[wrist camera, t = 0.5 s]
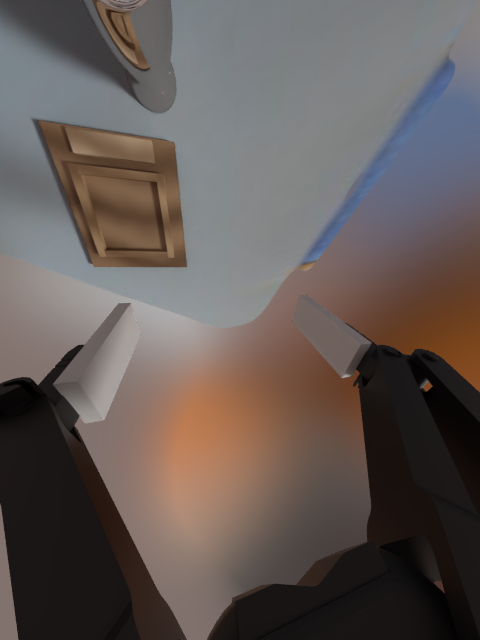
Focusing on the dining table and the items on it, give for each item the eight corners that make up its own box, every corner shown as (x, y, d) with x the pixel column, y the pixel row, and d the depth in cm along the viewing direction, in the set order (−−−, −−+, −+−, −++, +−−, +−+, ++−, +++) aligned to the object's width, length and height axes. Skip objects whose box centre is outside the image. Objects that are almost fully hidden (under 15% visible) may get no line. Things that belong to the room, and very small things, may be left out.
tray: (45, 124, 22) (30, 115, 20) (174, 144, 26) (173, 138, 24) (97, 265, 31) (90, 268, 29) (186, 265, 35) (186, 268, 33)
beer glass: (122, 102, 23) (35, -35, 10) (119, 15, 19) (-12, -336, 7) (177, 128, 25) (161, 42, 13) (183, 54, 22) (168, -159, 9)
